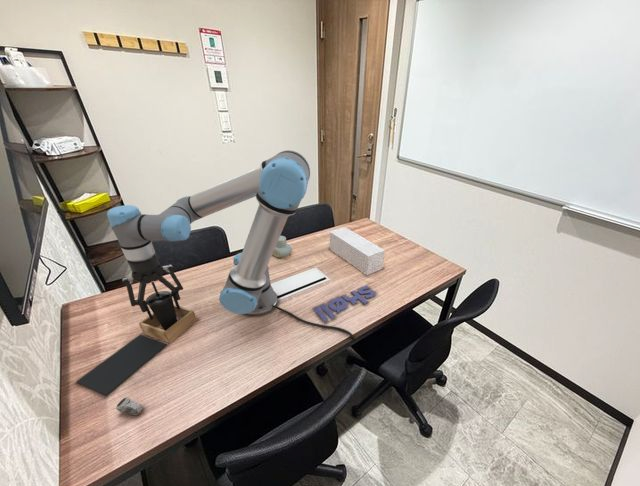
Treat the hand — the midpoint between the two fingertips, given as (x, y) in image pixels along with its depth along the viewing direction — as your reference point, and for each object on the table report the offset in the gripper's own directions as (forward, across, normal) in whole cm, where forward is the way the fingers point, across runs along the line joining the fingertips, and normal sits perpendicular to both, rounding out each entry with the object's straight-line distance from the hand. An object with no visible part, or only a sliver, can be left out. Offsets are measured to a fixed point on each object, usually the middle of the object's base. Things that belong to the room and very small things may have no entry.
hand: (165, 312), depth 99 cm
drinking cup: (+7, 0, 0) cm, 7 cm away
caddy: (+7, 0, 0) cm, 7 cm away
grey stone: (+7, +16, +29) cm, 34 cm away
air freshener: (+7, -57, -23) cm, 62 cm away
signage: (+7, -60, +29) cm, 67 cm away
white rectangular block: (+7, -86, +3) cm, 87 cm away
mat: (+7, +15, +8) cm, 18 cm away
